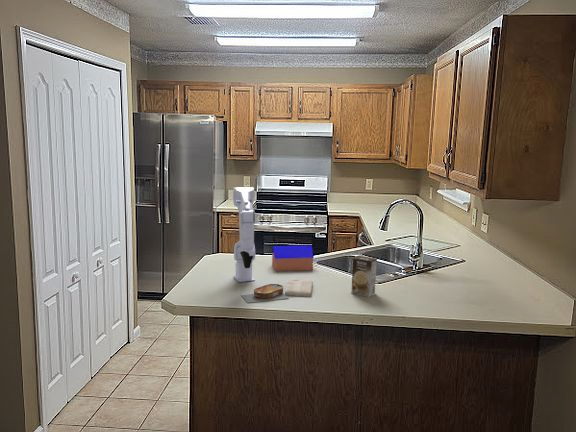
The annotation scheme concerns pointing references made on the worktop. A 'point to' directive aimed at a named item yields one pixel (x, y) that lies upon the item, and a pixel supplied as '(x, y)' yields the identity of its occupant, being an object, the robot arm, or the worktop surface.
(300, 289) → the washcloth
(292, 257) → the two-tone brick
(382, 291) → the worktop surface
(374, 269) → the coffee box
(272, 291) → the tin
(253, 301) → the mat
